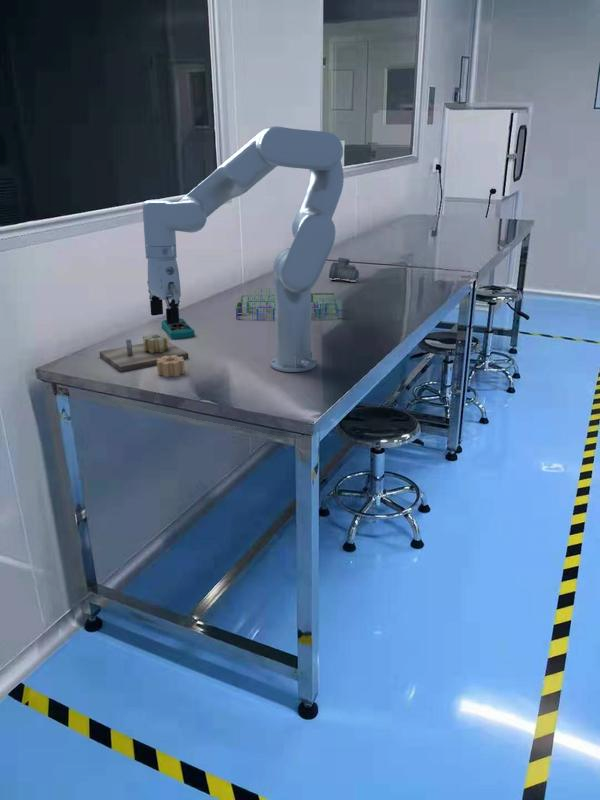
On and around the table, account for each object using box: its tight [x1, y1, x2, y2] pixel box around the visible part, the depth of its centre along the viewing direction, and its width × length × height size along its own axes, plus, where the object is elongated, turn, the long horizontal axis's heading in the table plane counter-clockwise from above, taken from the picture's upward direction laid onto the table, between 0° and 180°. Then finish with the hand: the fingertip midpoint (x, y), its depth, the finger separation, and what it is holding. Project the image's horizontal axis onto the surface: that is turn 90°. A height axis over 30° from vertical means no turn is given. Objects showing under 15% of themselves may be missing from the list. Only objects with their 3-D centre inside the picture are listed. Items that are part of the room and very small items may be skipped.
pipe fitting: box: [328, 257, 360, 280], centre depth 277 cm, size 12×8×10 cm
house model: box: [235, 288, 339, 321], centre depth 234 cm, size 35×30×5 cm
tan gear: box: [156, 355, 186, 378], centre depth 172 cm, size 7×7×4 cm
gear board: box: [99, 333, 189, 373], centre depth 183 cm, size 16×20×6 cm
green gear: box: [142, 332, 170, 353], centre depth 185 cm, size 7×7×4 cm
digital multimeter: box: [161, 317, 196, 340], centre depth 207 cm, size 8×15×3 cm, turn 23°
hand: (164, 318), depth 167 cm, fingers open, 9 cm apart
